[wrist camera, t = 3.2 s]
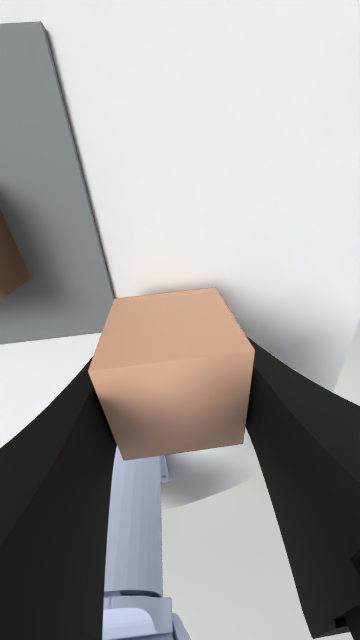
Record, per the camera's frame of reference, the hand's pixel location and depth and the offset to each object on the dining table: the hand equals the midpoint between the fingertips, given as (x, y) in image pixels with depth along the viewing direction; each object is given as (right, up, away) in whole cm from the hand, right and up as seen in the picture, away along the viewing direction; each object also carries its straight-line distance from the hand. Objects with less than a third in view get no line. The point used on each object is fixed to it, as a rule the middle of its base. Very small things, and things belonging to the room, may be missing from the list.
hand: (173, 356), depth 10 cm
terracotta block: (0, +1, +1) cm, 2 cm away
